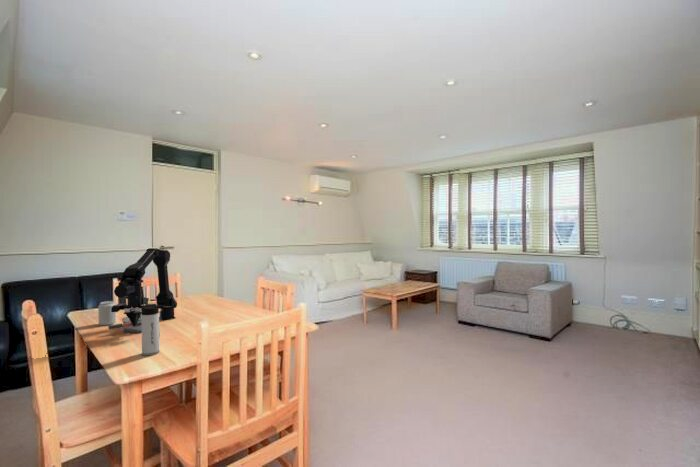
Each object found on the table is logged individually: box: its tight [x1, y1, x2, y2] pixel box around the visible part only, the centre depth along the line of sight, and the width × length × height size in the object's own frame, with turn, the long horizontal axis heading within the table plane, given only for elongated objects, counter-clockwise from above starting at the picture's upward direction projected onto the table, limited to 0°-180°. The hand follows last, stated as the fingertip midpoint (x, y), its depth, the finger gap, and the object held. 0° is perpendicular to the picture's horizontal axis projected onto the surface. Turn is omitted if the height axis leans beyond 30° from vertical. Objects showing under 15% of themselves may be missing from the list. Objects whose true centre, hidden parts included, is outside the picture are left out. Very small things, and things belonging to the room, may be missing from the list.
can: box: [97, 300, 117, 327], centre depth 183 cm, size 8×8×12 cm
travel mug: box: [141, 304, 160, 357], centre depth 141 cm, size 6×7×20 cm
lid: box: [121, 315, 142, 328], centre depth 171 cm, size 20×15×2 cm
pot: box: [107, 316, 163, 335], centre depth 173 cm, size 23×14×5 cm, turn 137°
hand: (134, 325), depth 163 cm, fingers closed
